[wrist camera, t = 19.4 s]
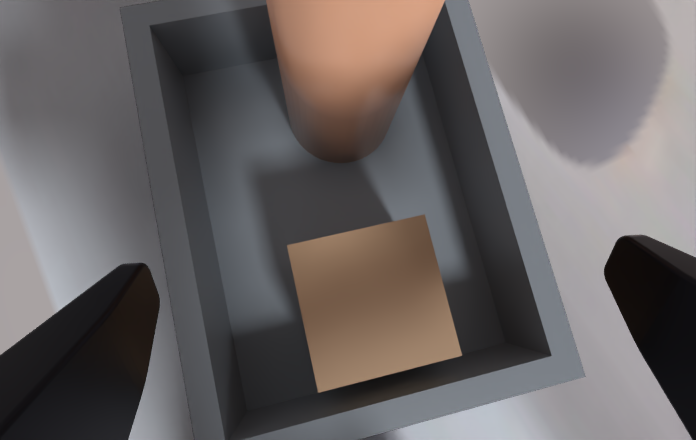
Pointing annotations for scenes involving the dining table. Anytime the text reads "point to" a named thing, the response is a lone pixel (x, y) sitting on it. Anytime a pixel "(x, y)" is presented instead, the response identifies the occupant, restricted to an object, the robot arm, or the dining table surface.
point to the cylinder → (347, 68)
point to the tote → (332, 226)
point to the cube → (372, 302)
